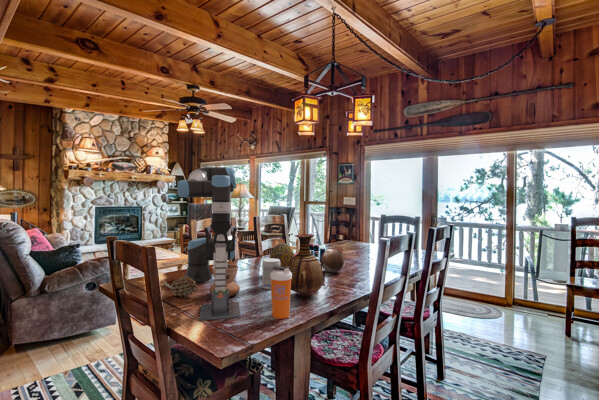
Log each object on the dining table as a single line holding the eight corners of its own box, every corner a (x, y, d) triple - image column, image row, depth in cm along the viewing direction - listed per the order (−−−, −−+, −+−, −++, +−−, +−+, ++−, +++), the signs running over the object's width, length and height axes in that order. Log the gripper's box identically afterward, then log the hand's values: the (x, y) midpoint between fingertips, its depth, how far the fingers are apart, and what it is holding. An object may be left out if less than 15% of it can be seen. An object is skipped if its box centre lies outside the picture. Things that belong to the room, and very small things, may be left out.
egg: (263, 275, 200) (263, 242, 199) (284, 271, 210) (284, 240, 210) (280, 280, 187) (280, 245, 187) (301, 276, 198) (301, 243, 198)
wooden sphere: (316, 272, 207) (316, 249, 206) (327, 268, 219) (328, 246, 219) (337, 276, 198) (337, 251, 198) (348, 271, 210) (348, 248, 210)
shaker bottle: (269, 311, 138) (270, 264, 138) (291, 311, 139) (291, 264, 139) (269, 320, 129) (270, 269, 129) (292, 319, 130) (292, 269, 130)
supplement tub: (283, 288, 172) (283, 260, 172) (267, 291, 167) (267, 262, 167) (274, 284, 181) (274, 257, 180) (259, 286, 175) (259, 259, 175)
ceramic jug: (231, 301, 150) (231, 270, 150) (202, 298, 154) (203, 268, 154) (245, 291, 168) (246, 263, 168) (219, 288, 171) (220, 261, 171)
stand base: (201, 306, 144) (201, 285, 144) (238, 304, 147) (238, 283, 147) (199, 320, 128) (199, 297, 128) (240, 317, 132) (240, 294, 132)
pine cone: (202, 295, 159) (202, 275, 159) (188, 301, 150) (188, 280, 150) (167, 290, 167) (167, 270, 167) (152, 295, 158) (152, 275, 158)
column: (214, 290, 139) (214, 243, 139) (226, 289, 141) (226, 243, 140) (214, 293, 135) (214, 245, 134) (226, 292, 136) (226, 244, 135)
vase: (315, 305, 147) (316, 238, 146) (278, 300, 153) (279, 236, 153) (328, 291, 167) (328, 233, 166) (294, 287, 173) (295, 231, 173)
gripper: (198, 212, 131) (198, 270, 132) (242, 212, 135) (241, 269, 136) (199, 211, 139) (199, 266, 139) (241, 211, 143) (240, 265, 143)
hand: (220, 267), depth 137 cm, fingers closed on column, 4 cm apart
